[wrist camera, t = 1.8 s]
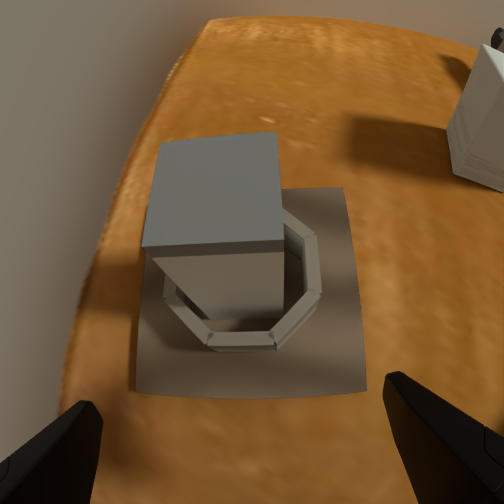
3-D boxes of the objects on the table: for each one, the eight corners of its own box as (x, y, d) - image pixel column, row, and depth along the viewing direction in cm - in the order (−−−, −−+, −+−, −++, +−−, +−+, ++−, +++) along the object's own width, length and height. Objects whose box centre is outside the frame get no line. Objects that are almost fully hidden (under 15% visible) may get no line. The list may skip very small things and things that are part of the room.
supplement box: (505, 195, 25) (565, 116, 14) (450, 174, 27) (502, 80, 15) (494, 147, 28) (538, 71, 16) (444, 127, 29) (480, 40, 18)
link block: (283, 318, 21) (284, 239, 10) (210, 319, 22) (141, 246, 11) (280, 250, 23) (276, 131, 13) (213, 254, 24) (160, 142, 13)
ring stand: (362, 390, 20) (382, 391, 16) (142, 392, 21) (111, 391, 17) (340, 195, 26) (349, 160, 22) (159, 205, 28) (139, 174, 23)
